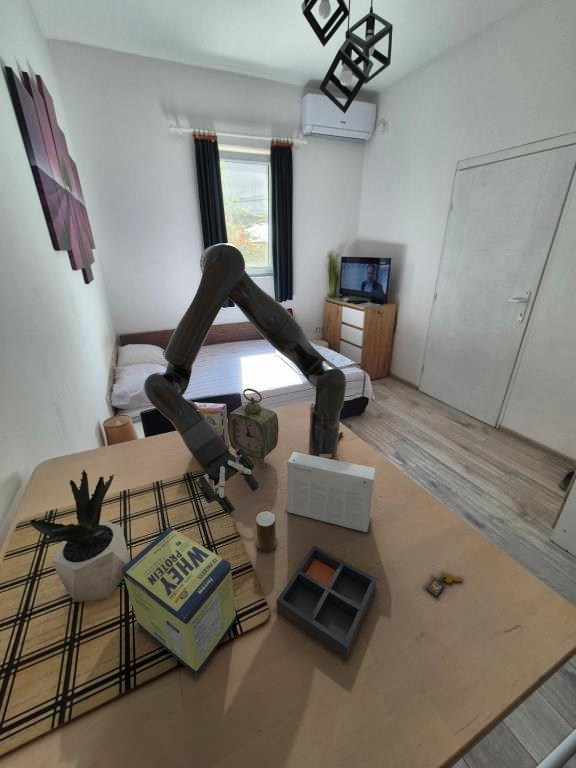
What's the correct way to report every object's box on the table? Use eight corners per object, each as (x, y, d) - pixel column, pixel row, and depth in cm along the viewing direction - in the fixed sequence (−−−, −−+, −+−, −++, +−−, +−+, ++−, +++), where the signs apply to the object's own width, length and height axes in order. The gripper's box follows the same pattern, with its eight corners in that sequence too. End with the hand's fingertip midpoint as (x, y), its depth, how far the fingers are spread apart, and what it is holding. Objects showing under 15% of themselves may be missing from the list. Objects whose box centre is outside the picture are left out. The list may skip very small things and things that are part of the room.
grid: (313, 556, 74) (313, 545, 72) (374, 590, 66) (376, 578, 65) (276, 611, 62) (276, 599, 61) (346, 660, 55) (347, 647, 54)
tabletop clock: (230, 457, 107) (224, 388, 97) (247, 444, 114) (243, 378, 104) (265, 472, 100) (263, 400, 90) (281, 457, 107) (281, 388, 97)
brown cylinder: (264, 533, 79) (263, 508, 76) (279, 541, 77) (279, 516, 74) (253, 546, 76) (251, 520, 73) (268, 555, 74) (267, 529, 70)
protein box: (179, 579, 68) (169, 525, 62) (238, 619, 61) (232, 562, 55) (136, 626, 60) (118, 568, 54) (197, 678, 53) (186, 619, 47)
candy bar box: (193, 451, 110) (188, 408, 104) (199, 442, 115) (193, 401, 108) (226, 453, 109) (222, 410, 103) (229, 444, 114) (226, 403, 107)
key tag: (434, 597, 65) (434, 596, 65) (422, 585, 67) (423, 583, 67) (462, 580, 68) (462, 578, 68) (450, 568, 71) (450, 566, 70)
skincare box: (369, 517, 84) (376, 467, 78) (367, 533, 79) (374, 482, 73) (292, 498, 90) (293, 450, 84) (286, 512, 86) (286, 462, 79)
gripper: (187, 452, 69) (231, 516, 67) (233, 423, 80) (271, 478, 78) (174, 464, 73) (215, 524, 72) (219, 435, 84) (255, 487, 83)
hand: (244, 500), depth 75 cm, fingers open, 8 cm apart
